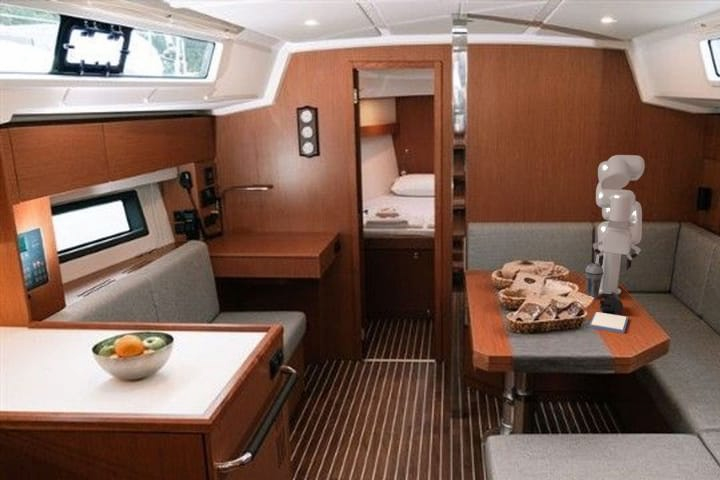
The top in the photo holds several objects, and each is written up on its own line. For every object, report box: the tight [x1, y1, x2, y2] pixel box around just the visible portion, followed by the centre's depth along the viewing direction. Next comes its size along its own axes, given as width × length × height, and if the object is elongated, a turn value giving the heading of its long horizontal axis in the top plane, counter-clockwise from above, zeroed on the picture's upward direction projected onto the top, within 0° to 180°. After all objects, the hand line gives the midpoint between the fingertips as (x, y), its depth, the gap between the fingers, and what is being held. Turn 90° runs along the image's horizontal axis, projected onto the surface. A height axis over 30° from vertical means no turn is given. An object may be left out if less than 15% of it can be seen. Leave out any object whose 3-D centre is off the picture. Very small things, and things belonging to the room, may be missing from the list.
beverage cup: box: [584, 253, 603, 301], centre depth 247 cm, size 7×7×20 cm
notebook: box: [588, 311, 629, 334], centre depth 220 cm, size 16×12×1 cm
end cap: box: [599, 292, 624, 315], centre depth 233 cm, size 10×7×7 cm
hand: (614, 267), depth 229 cm, fingers open, 9 cm apart
